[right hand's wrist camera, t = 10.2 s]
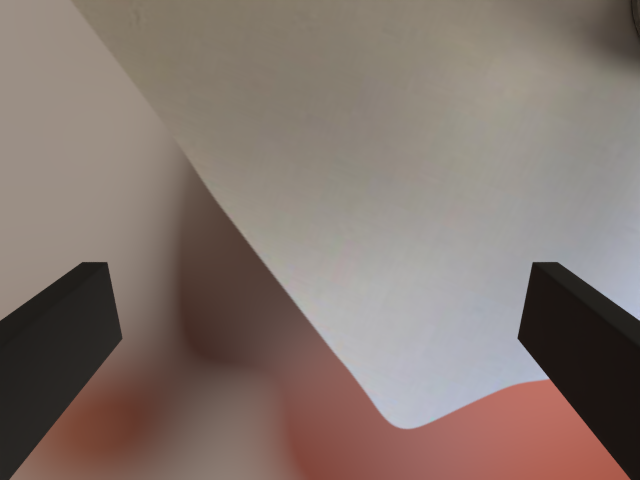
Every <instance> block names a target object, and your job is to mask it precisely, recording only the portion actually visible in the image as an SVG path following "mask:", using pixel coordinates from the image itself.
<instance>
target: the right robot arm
mask: <svg viewBox="0 0 640 480" xmlns="http://www.w3.org/2000/svg"><path fill="white" fill-rule="evenodd" d="M632 9H633V17H634V21H635V25H636V29H637V31H638V34H639V36H640V0H632ZM121 340H122V334H121V329H120V324H119V319H118V314H117V309H116V304H115V299H114V294H113V289H112V284H111V279H110V274H109V269H108V264H107V262H82V263H81V264H79V265H78V266H76V267H75V268H74V269H72V270H71V271H69V272H68V273H67V274H65V275H64V276H62V277H61V278H60V279H58V280H57V281H55V282H54V283H53V284H51V285H50V286H48V287H47V288H46V289H44V290H43V291H41V292H40V293H39V294H37V295H36V296H34V297H33V298H32V299H30V300H29V301H27V302H26V303H25V304H23V305H22V306H20V307H19V308H18V309H16V310H15V311H13V312H12V313H11V314H9V315H8V316H7V317H5V318H4V319H2V320H1V321H0V480H9V479H10V478H11V477H12V475H13V474H14V473H15V472H16V470H17V469H18V468H19V467H20V465H21V464H22V463H23V462H24V461H25V459H26V458H27V457H28V456H29V454H30V453H31V452H32V451H33V449H34V448H35V447H36V446H37V444H38V443H39V442H40V441H41V439H42V438H43V437H44V436H45V434H46V433H47V432H48V431H49V429H50V428H51V427H52V426H53V424H54V423H55V422H56V421H57V419H58V418H59V417H60V416H61V414H62V413H63V412H64V411H65V409H66V408H67V407H68V406H69V404H70V403H71V402H72V401H73V400H74V398H75V397H76V396H77V395H78V393H79V392H80V391H81V390H82V388H83V387H84V386H85V385H86V383H87V382H88V381H89V380H90V378H91V377H92V376H93V375H94V373H95V372H96V371H97V370H98V368H99V367H100V366H101V365H102V363H103V362H104V361H105V360H106V358H107V357H108V356H109V355H110V353H111V352H112V351H113V350H114V348H115V347H116V346H117V345H118V343H119V342H120V341H121ZM518 340H519V341H520V342H521V343H522V345H523V346H524V347H525V348H526V350H527V351H528V352H529V353H530V355H531V356H532V357H533V358H534V360H535V361H536V362H537V363H538V365H539V366H540V367H541V368H542V370H543V371H544V372H545V373H546V375H547V376H548V377H549V378H550V380H551V381H552V382H553V383H554V385H555V386H556V387H557V388H558V390H559V391H560V392H561V393H562V395H563V396H564V397H565V398H566V400H567V401H568V402H569V403H570V404H571V406H572V407H573V408H574V409H575V411H576V412H577V413H578V414H579V416H580V417H581V418H582V419H583V421H584V422H585V423H586V424H587V426H588V427H589V428H590V429H591V431H592V432H593V433H594V434H595V436H596V437H597V438H598V439H599V441H600V442H601V443H602V444H603V446H604V447H605V448H606V449H607V450H608V452H609V453H610V454H611V456H612V457H613V458H614V459H615V460H616V462H617V463H618V464H619V465H620V467H621V468H622V469H623V470H624V472H625V473H626V474H627V475H628V477H629V478H630V479H631V480H640V321H639V320H638V319H636V318H635V317H634V316H632V315H631V314H629V313H628V312H627V311H625V310H624V309H622V308H621V307H620V306H618V305H617V304H615V303H614V302H613V301H611V300H610V299H608V298H607V297H606V296H604V295H603V294H601V293H600V292H599V291H597V290H596V289H594V288H593V287H592V286H590V285H589V284H587V283H586V282H585V281H583V280H582V279H580V278H579V277H578V276H576V275H575V274H573V273H572V272H571V271H569V270H568V269H566V268H565V267H564V266H562V265H561V264H559V263H558V262H533V264H532V269H531V274H530V279H529V284H528V289H527V294H526V299H525V304H524V309H523V314H522V319H521V324H520V329H519V334H518Z"/></svg>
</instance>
